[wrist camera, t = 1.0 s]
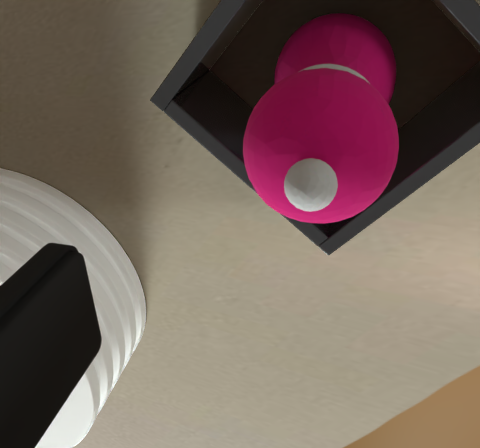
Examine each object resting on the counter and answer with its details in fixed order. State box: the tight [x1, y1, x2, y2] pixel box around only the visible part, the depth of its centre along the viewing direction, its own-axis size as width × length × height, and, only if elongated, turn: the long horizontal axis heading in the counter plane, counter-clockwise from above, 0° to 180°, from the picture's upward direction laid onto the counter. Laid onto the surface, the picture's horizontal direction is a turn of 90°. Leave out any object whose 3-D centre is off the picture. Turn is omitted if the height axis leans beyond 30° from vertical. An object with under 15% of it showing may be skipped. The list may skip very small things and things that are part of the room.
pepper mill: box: [243, 13, 399, 223], centre depth 22 cm, size 7×7×20 cm
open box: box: [151, 0, 480, 255], centre depth 27 cm, size 15×15×8 cm
